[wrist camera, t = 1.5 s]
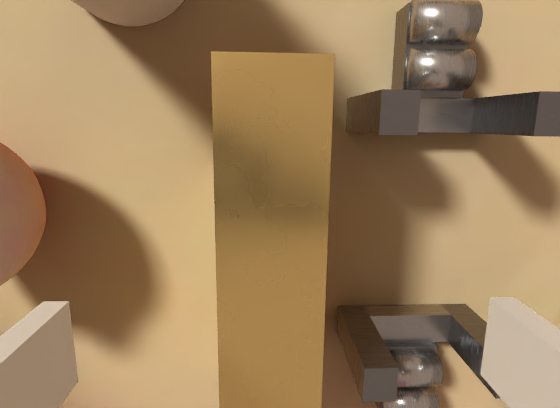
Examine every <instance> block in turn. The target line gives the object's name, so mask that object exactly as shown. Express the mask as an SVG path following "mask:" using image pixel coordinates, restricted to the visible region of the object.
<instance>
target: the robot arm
mask: <svg viewBox="0 0 560 408" xmlns="http://www.w3.org/2000/svg"><path fill="white" fill-rule="evenodd" d="M480 375H481V376H482V377H483V378H484V379H485V380H486V382H487V383H488V384H489V385H490V386H491V387H492V389H493V390H494V391H495V392H496V393H497V394H498V396H499V397H500V398H501V399H502V400H503V401H504V403H505V404H506V405H507V406H508V407H509V408H560V329H559V328H557V327H556V326H554V325H553V324H551V323H550V322H549V321H547V320H546V319H544V318H543V317H541V316H540V315H539V314H537V313H536V312H534V311H533V310H531V309H530V308H529V307H527V306H526V305H524V304H523V303H522V302H520V301H519V300H517V299H516V298H514V297H490V303H489V311H488V319H487V327H486V334H485V342H484V350H483V358H482V365H481V373H480ZM77 382H78V376H77V367H76V358H75V349H74V341H73V332H72V323H71V314H70V305H69V301H43V302H42V303H41V304H40V305H38V306H37V307H36V308H35V309H33V310H32V311H31V312H30V313H28V314H27V315H26V316H25V317H23V318H22V319H21V320H20V321H18V322H17V323H16V324H15V325H14V326H12V327H11V328H10V329H9V330H7V331H6V332H5V333H4V334H2V335H1V336H0V408H59V407H60V405H61V404H62V403H63V401H64V400H65V399H66V397H67V396H68V394H69V393H70V392H71V390H72V389H73V387H74V386H75V385H76V383H77Z"/></svg>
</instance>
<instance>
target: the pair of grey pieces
mask: <svg viewBox="0 0 560 408" xmlns="http://www.w3.org/2000/svg"><path fill="white" fill-rule="evenodd" d="M482 16H483V10H482V5H481V3H480V2H479V1H478V0H412V1H411V2H410V3H408V4H407V5H406V6H404V7H403V8H402V9H401V10H399V11H398V12H397V15H396V30H395V45H394V60H393V75H392V90H383V89H382V90H378V91H374V92H370V93H367V94H363V95H359V96H355V97H351V98H347V120H346V131H349V132H357V133H366V134H374V135H418V132H443V133H485V134H504V135H522V136H560V92H531V93H522V94H512V95H503V96H493V97H484V98H463V96H464V90H466V89H468V88H469V87H470V86H471V84H472V82H473V80H474V78H475V75H476V70H477V57H476V54H475V52H474V51H473V50H471V49H468V48H469V44H470V43H471V42H472V41H473V40H474V39H475V38H476V36H477V34H478V32H479V30H480V27H481V23H482ZM486 327H487V323H486V322H485V321H484V320H483V319H482V318H480V317H479V316H478V315H477V314H476V313H475V312H474V311H473V310H472V309H470V308H469V307H468V306H467V305H466V304H439V305H372V306H338V327H337V333H338V335H339V338H340V341H341V344H342V346H343V349H344V352H345V355H346V357H347V360H348V363H349V366H350V368H351V371H352V374H353V377H354V379H355V382H356V385H357V388H358V391H359V393H360V396H361V399H362V402H375V403H376V405H377V408H439V401H438V396H437V393H436V391H435V389H434V387H433V386H440V385H441V384H442V381H443V369H442V364H441V361H440V358H439V356H438V354H437V345H436V344H435V342H448V343H449V344H450V345H451V346H452V347H453V348H454V350H455V351H456V352H457V353H458V354H459V356H460V357H461V358H462V359H463V360H464V361H465V363H466V364H467V365H468V366H469V367H470V368H471V370H472V371H473V372H474V373H475V374H476V376H477V377H478V378H479V379H480V380H481V381H482V383H483V384H484V385H485V386H486V387H487V389H488V390H489V391H490V392H491V393H492V394H493V396H494V397H495V398H500V397H499V396H498V394H497V393H496V392H495V391H494V390H493V389H492V387H491V386H490V385H489V384H488V383H487V382H486V380H485V379H484V378H483V377H482V376H481V375H480V373H481V365H482V358H483V350H484V342H485V334H486Z"/></svg>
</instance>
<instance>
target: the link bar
mask: <svg viewBox="0 0 560 408" xmlns="http://www.w3.org/2000/svg"><path fill="white" fill-rule="evenodd" d="M334 66H335V54H320V53H270V52H220V51H211V79H212V119H213V160H214V200H215V241H216V281H217V321H218V362H219V402H220V408H321V405H322V379H323V353H324V327H325V300H326V274H327V248H328V222H329V196H330V170H331V144H332V118H333V92H334Z"/></svg>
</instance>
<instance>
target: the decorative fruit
mask: <svg viewBox="0 0 560 408" xmlns="http://www.w3.org/2000/svg"><path fill="white" fill-rule="evenodd" d="M45 224H46V206H45V200H44V196H43V193H42V190H41V187H40V185H39V182H38V180H37V178H36V176H35V174H34V173H33V171H32V170H31V169H30V167H29V166H28V165H27V164H26V163H25V162H24V161H23V160H22V159H21V158H20V157H19V156H18V155H17V154H16V153H14V152H13V151H12V150H11V149H9V148H8V147H6V146H5V145H4V144H2V143H0V285H1V284H3V283H5V282H6V281H8V280H9V279H10V278H12V277H13V276H14V275H15V274H16V273H18V272H19V271H20V270H21V269H22V268H23V267H24V265H25V264H26V263H27V262H28V261H29V259H30V258H31V257H32V255H33V254H34V252H35V251H36V249H37V247H38V245H39V243H40V241H41V238H42V235H43V232H44V229H45Z"/></svg>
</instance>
